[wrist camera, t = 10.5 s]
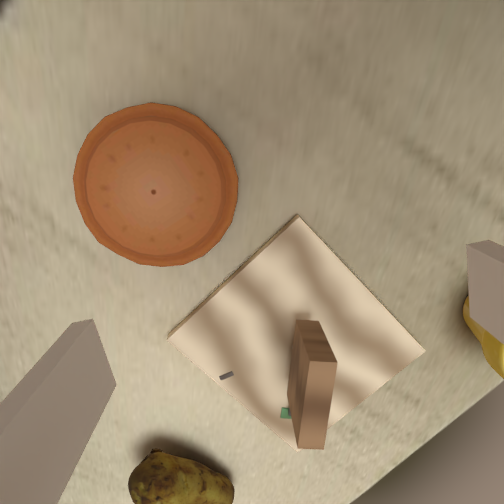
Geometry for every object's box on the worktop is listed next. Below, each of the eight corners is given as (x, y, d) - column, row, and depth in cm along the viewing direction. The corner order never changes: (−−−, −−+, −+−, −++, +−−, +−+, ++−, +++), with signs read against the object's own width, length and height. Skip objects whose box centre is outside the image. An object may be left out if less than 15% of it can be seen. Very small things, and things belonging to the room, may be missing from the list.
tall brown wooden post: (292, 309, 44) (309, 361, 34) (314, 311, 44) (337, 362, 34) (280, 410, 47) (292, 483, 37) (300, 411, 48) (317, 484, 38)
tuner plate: (297, 214, 43) (299, 217, 41) (419, 344, 48) (426, 351, 46) (168, 333, 46) (166, 341, 44) (296, 443, 51) (298, 454, 49)
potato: (191, 509, 53) (183, 572, 46) (128, 446, 50) (109, 502, 43) (242, 479, 52) (243, 538, 45) (181, 412, 49) (171, 463, 41)
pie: (89, 94, 39) (68, 88, 34) (247, 119, 40) (248, 116, 35) (84, 246, 43) (65, 260, 38) (227, 264, 44) (226, 280, 39)
